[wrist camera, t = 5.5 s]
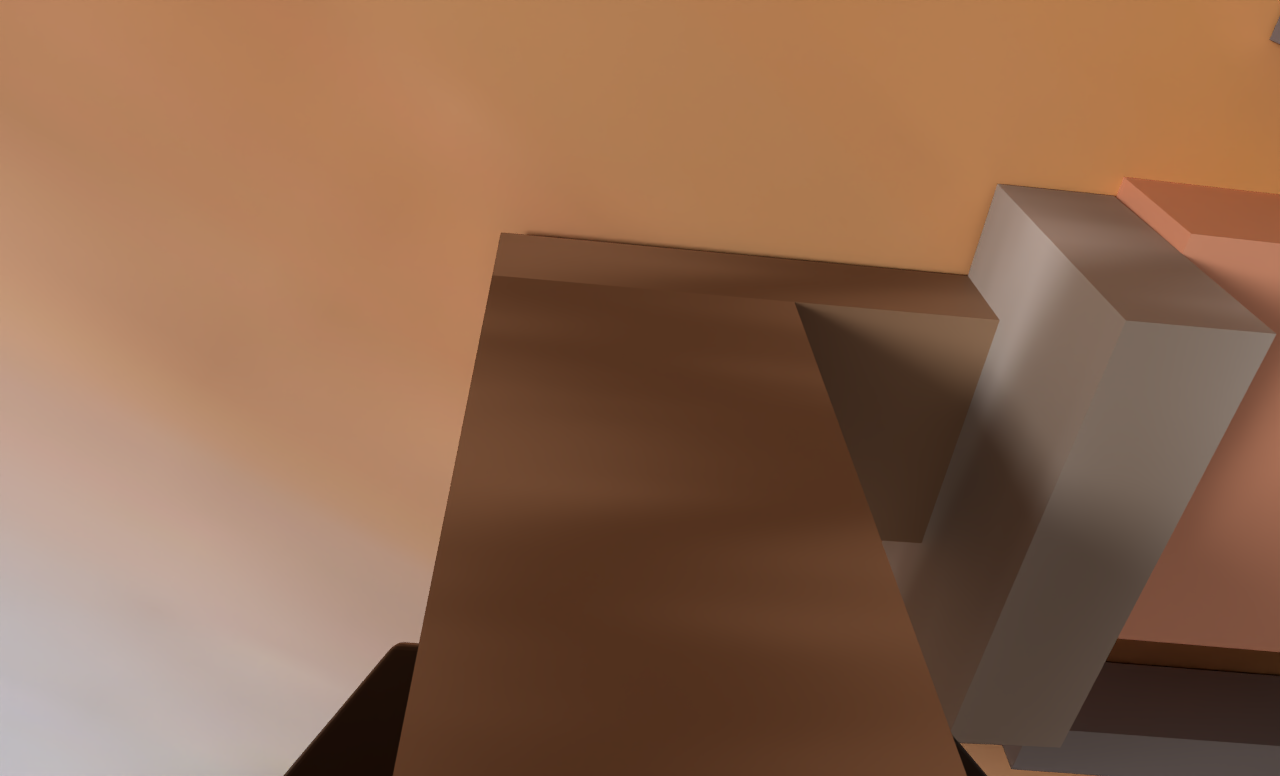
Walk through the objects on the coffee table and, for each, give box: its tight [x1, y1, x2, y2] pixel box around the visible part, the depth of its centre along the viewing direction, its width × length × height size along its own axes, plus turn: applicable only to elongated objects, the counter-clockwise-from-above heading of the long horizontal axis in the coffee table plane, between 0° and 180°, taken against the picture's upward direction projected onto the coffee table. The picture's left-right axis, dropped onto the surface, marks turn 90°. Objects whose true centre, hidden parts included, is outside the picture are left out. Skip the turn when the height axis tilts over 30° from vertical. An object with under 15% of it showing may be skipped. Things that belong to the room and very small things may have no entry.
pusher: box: [393, 184, 1276, 776], centre depth 10 cm, size 8×6×9 cm
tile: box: [1116, 177, 1280, 652], centre depth 13 cm, size 6×6×2 cm
